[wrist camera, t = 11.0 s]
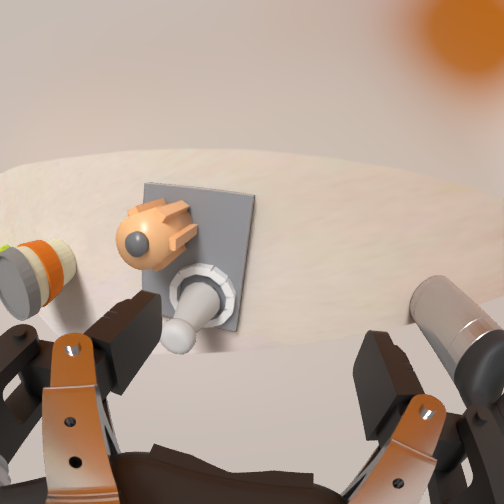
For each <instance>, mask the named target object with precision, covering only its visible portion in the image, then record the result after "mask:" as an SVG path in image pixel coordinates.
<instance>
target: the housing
mask: <svg viewBox="0 0 504 504" xmlns="http://www.w3.org/2000/svg"><path fill="white" fill-rule="evenodd" d="M254 198H255V195H253V194H246V193H239V192H231V191H224V190H216V189H208V188H199V187H191V186H181V185H172V184H162V183H145V184H144V198H143V204H141V205H138V206H135V207H133V208H132V209H130V210H128V211H127V213H128V215H129V217H127V218H125V219H124V220H123V221H122V222H121V223H120V225H119V227H118V229H117V233H116V245H117V249H118V251H119V254H120V255H121V257H122V258H123V260H124V261H125V262H126V263H127V264H128V265H130V266H131V267H133V268H135V269H138V270H142V290H145V291H149V292H153V293H157V294H160V295H161V299H162V315H163V316H167V317H171V318H173V317H174V314H175V311H176V308H177V306H178V303H179V300H180V297H181V294H182V292H183V291H184V289H185V287H187V286H188V285H190V284H192V283H194V282H207V283H208V284H210V285H211V286H213V287H214V288H216V290H217V293H218V296H219V298H220V307H219V310H218V312H217V313H216V314H215V316H214V317H213V318H211V319H210V320H209V321H208V322H207V323H206V324H205V325H204V326H203V328H207V327H208V328H211V327H216V328H220V329H225V330H230V331H236V328H237V325H238V317H239V310H240V302H241V294H242V287H243V279H244V272H245V264H246V257H247V249H248V242H249V234H250V227H251V220H252V212H253V205H254Z"/></svg>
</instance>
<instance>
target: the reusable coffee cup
mask: <svg viewBox="0 0 504 504" xmlns="http://www.w3.org/2000/svg"><path fill="white" fill-rule="evenodd" d="M75 274H76V259H75V256H74V253H73V251H72V249H71V247H70V246H69V245H68V244H67V243H66V242H65V241H64V240H62V239H59V238H56V239H51V240H47V241H42V240H37V241H32V242H28V243H23V244H20V245H18V246H17V247H16V248H14V247H9V248H7V249H6V250H4V251H2V252H1V253H0V299H1V301H2V303H3V304H4V306H5V307H6V309H7V310H8V311H9V312H10V314H11V315H13V316H14V317H15V318H17V319H18V320H21V321H23V320H26V319H28V318H30V317H32V316H34V315H35V314H37V313H38V312H39V311H40V308H41V307H44V306H46V305H47V304H48V303H50V302H51V301H52V300H53V299H54V298H55V297H56V296H57V295H58V294H59V293H60V292H61V291H62V288H63V287H64V286H65V285H66V284H67V283H68V282H69V281H70V280H71V279H72V278H73V277H74V276H75Z"/></svg>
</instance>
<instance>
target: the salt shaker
mask: <svg viewBox="0 0 504 504" xmlns="http://www.w3.org/2000/svg"><path fill="white" fill-rule="evenodd" d="M219 307H220V298H219V296H218V293H217V290H216V288H214V287H213V286H211V285H210V284H208V283H207V282H194V283H192V284H190V285H188V286H187V287H185V289H184V291H183V292H182V294H181V297H180V300H179V303H178V306H177V308H176V311H175V314H174V317H173V318H172V319H170V320H168V321H166V322H165V323H164V324H163V326H162V334H161V338H160V341H161V343H162V345H163V346H164V347H165V348H166V349H167V350H168V351H170V352H173V353H175V354H185V353H187V352H189V351H190V350H191V349H192V347H193V346H194V345H195V342H196V333H197V332H198V331H199V330H200V329H201V328H202V327H203V326H204V325H205V324H206V323H207V322H208V321H209V320H210V319H211V318H213V317H214V316H215V314H216V313H217V312H218V310H219Z"/></svg>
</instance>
